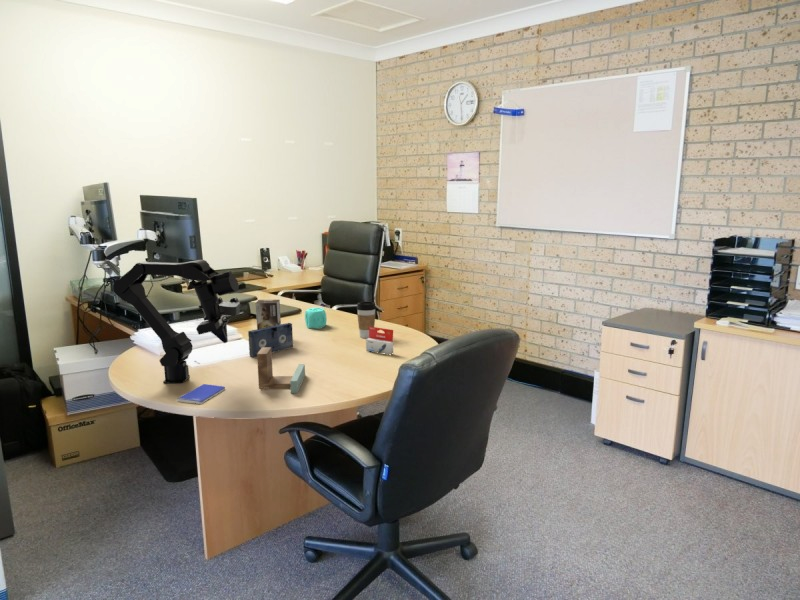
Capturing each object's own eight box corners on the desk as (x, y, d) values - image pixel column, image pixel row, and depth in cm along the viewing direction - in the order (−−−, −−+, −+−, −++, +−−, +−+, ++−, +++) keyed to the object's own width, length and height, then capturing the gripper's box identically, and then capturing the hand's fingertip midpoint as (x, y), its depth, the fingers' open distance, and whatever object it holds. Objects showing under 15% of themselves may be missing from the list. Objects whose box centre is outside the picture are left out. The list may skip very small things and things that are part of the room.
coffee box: (281, 335, 232) (280, 299, 228) (279, 340, 225) (277, 302, 222) (260, 336, 231) (258, 299, 228) (257, 340, 225) (255, 302, 222)
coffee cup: (353, 337, 229) (352, 303, 226) (361, 332, 236) (361, 299, 233) (371, 340, 226) (371, 305, 223) (379, 334, 233) (379, 301, 230)
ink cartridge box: (390, 356, 205) (390, 331, 203) (365, 351, 210) (365, 327, 208) (393, 354, 207) (393, 329, 205) (369, 350, 212) (368, 326, 210)
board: (290, 393, 168) (290, 381, 167) (299, 375, 184) (298, 364, 183) (297, 393, 168) (296, 381, 167) (305, 375, 184) (304, 364, 183)
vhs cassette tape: (290, 346, 217) (288, 322, 215) (294, 347, 215) (293, 323, 213) (248, 356, 205) (247, 330, 203) (252, 357, 203) (251, 332, 200)
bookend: (258, 388, 172) (257, 353, 170) (263, 380, 179) (262, 347, 177) (293, 388, 172) (292, 353, 170) (297, 380, 179) (295, 347, 177)
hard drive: (200, 401, 159) (225, 386, 171) (177, 397, 162) (203, 383, 173) (201, 406, 160) (225, 391, 171) (177, 402, 162) (203, 388, 174)
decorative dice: (305, 325, 249) (304, 308, 247) (321, 323, 252) (321, 306, 251) (309, 329, 242) (309, 312, 240) (326, 327, 245) (326, 310, 244)
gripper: (221, 301, 162) (239, 347, 167) (241, 284, 180) (257, 326, 185) (187, 310, 164) (206, 356, 168) (210, 292, 181) (227, 334, 186)
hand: (225, 342), depth 177 cm, fingers closed
